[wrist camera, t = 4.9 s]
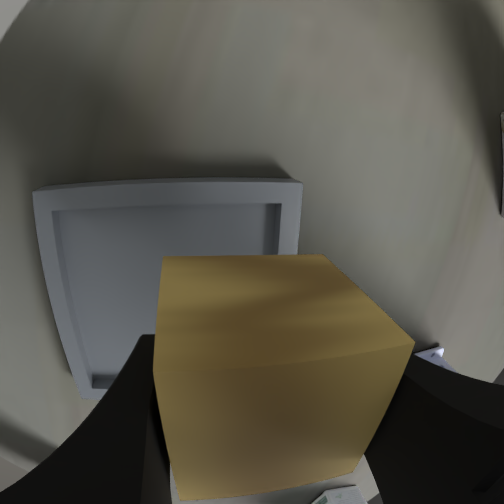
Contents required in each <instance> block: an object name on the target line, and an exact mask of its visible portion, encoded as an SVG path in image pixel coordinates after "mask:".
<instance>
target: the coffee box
mask: <svg viewBox="0 0 504 504" xmlns="http://www.w3.org/2000/svg"><path fill="white" fill-rule="evenodd" d="M500 116H501V127H502V145H503V195H502V213H501V216H502V217H503V218H504V112H501V115H500Z"/></svg>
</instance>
